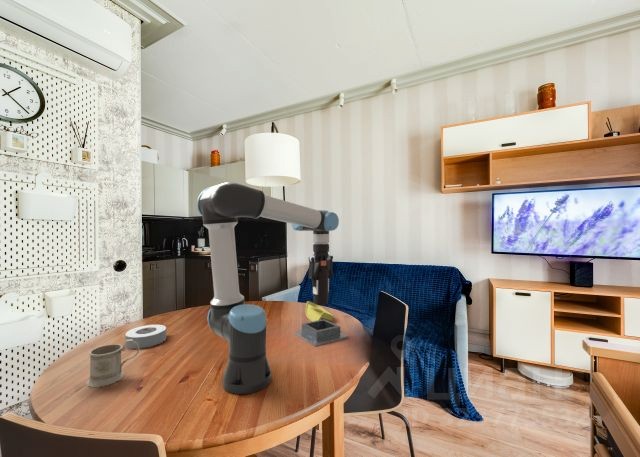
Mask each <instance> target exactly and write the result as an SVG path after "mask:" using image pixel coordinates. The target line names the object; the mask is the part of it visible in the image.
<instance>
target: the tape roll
mask: <svg viewBox="0 0 640 457" xmlns="http://www.w3.org/2000/svg"><path fill="white" fill-rule="evenodd" d="M124 335H125V338H124V340H125V341H124V343H126V342H127V341H126V340H128V339H133V340H132V341H135V342H137V343H138V344H139V347H140V349H145V348H146V347H147V348H150V347H151V348H152V347H154V345H155V346H158V345H160V344H162V343H164V342H165V341H166V339H167V326H165V325H162V324H146V325H142V326H141V325H140V326H138V327H134V328H132V329H129V330H128V331H127V332H126V333H125V334H124ZM163 341H164V342H163ZM157 344H158V345H157ZM125 347H126V348H127V347H128V348H127V349H131V348H138V346H137V344H135V343H132V342H130V343H127V344H126V345H125Z"/></svg>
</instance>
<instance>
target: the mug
mask: <svg viewBox="0 0 640 457" xmlns="http://www.w3.org/2000/svg"><path fill="white" fill-rule="evenodd" d="M132 340H133V339H128V340H126V341H127V342H126V343H125V342H124V343H123V345H122V344H118V343H114V344H113V343H111V344H106V345H102V346H97V347H96V348H94V349H93V348H92V350H91V351H89V354H88V355H89V358H90V361H89V364H90V365H89V379H88V380H87V381H86V383H85V384H87V385H86V387H88V386H90V387H89V388H100V386H102V387H106V386H110V385H112V384H114V383H117V382H119V381H120V380H122V379H124V376H125V372H123V370H122V369H123V366H124V365H125V363H126V362H128V361H129V360H131V359H133V358H136V356H137V355H138V354H139V353H140V349H141V348H140V347H139V344H138V343H137V342H135V341H132ZM130 342H132V343H135V344H137V346H138V349H137V351H136V353H135V354H133V356H130V357H128V358H126V359H125V360H123V361H122V352H125V351H126V349H127V347H126V346H125V345H126V344H127V343H130ZM116 381H117V382H116ZM109 384H110V385H109ZM105 385H106V386H105Z"/></svg>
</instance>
